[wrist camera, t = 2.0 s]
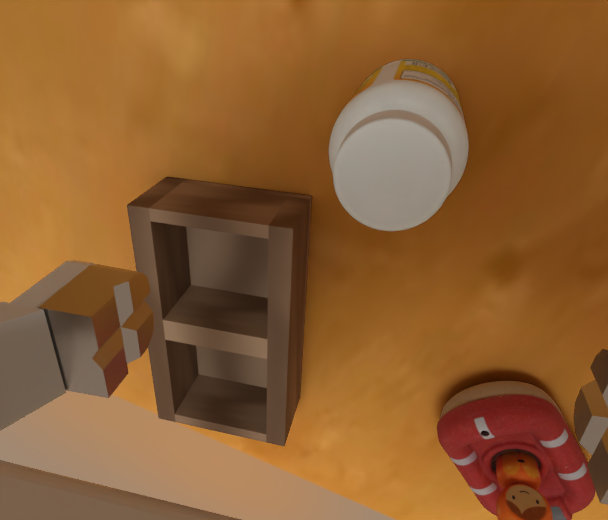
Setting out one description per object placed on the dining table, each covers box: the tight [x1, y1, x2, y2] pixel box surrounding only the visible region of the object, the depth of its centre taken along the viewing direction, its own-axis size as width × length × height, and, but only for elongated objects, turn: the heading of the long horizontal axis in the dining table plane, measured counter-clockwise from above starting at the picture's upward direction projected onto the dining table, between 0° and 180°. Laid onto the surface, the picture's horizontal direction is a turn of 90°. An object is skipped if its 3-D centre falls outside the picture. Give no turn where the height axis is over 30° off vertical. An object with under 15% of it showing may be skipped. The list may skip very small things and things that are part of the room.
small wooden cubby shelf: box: [127, 177, 312, 446], centre depth 30 cm, size 9×16×4 cm, turn 177°
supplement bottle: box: [329, 59, 469, 231], centre depth 20 cm, size 5×5×10 cm
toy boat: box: [437, 381, 595, 520], centre depth 30 cm, size 8×12×8 cm, turn 33°
